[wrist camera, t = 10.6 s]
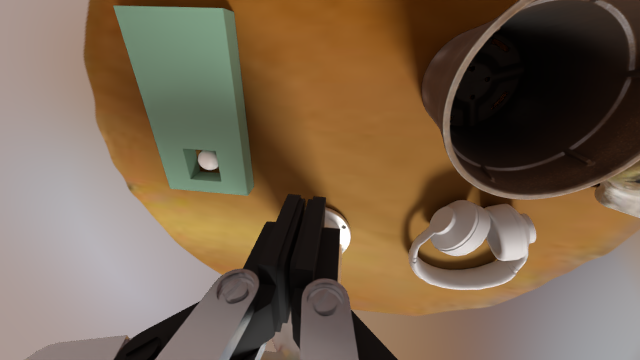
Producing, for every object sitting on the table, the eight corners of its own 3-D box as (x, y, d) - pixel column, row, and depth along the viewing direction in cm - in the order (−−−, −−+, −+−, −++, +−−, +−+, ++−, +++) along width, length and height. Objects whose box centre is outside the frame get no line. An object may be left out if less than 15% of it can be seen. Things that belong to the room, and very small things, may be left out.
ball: (226, 163, 41) (216, 175, 39) (208, 160, 42) (196, 172, 39) (222, 146, 39) (211, 157, 36) (202, 143, 39) (190, 154, 37)
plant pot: (383, 118, 35) (405, 163, 20) (446, -16, 27) (553, -93, 13) (483, 155, 35) (571, 223, 21) (572, 36, 28) (802, 19, 14)
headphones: (423, 185, 38) (397, 259, 50) (437, 220, 32) (403, 295, 44) (543, 196, 37) (487, 269, 49) (581, 234, 31) (506, 307, 42)
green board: (254, 186, 43) (247, 195, 40) (181, 180, 44) (170, 188, 41) (233, 12, 30) (222, 8, 28) (133, 9, 31) (113, 5, 29)
